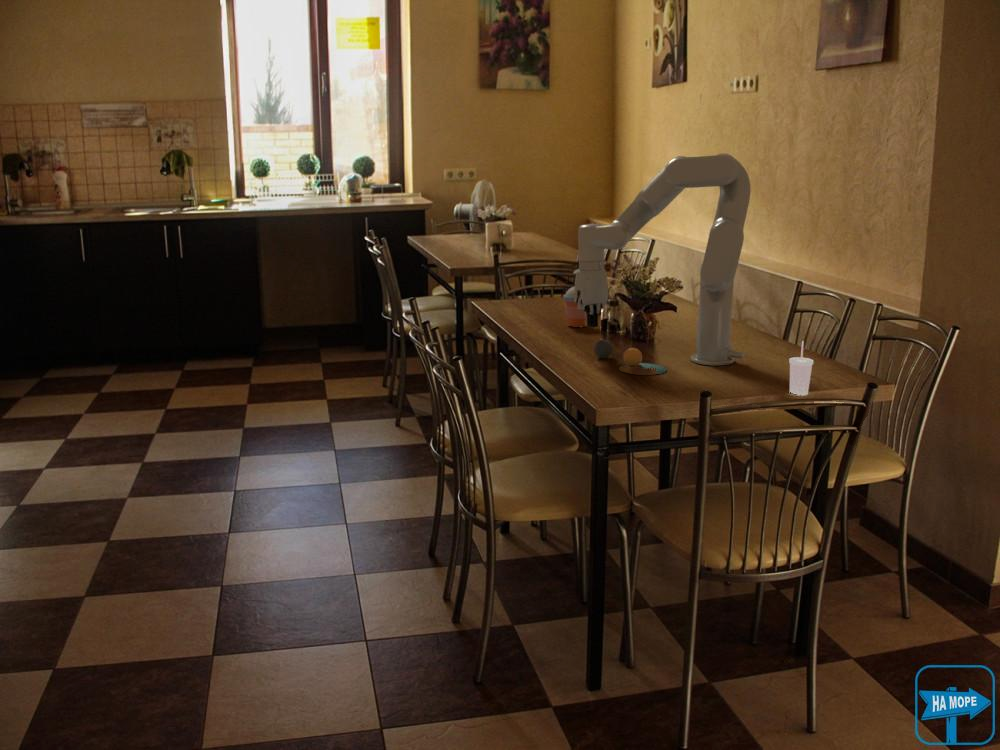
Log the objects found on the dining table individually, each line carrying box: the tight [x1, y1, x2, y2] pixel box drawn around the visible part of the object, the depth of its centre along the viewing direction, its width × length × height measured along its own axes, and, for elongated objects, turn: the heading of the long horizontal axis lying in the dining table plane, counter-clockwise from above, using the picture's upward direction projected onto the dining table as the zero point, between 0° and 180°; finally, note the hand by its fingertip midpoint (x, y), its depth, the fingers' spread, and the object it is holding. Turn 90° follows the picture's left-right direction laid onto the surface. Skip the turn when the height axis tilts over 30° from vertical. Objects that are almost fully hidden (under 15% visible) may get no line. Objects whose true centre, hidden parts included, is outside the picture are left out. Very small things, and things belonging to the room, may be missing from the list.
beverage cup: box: [788, 340, 814, 397], centre depth 254 cm, size 6×6×14 cm
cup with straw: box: [563, 286, 587, 328], centre depth 336 cm, size 9×9×18 cm
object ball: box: [622, 347, 643, 367], centre depth 282 cm, size 6×6×6 cm
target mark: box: [639, 362, 668, 375], centre depth 279 cm, size 14×14×1 cm
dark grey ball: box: [593, 339, 613, 359], centre depth 292 cm, size 6×6×6 cm
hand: (592, 326), depth 295 cm, fingers closed
